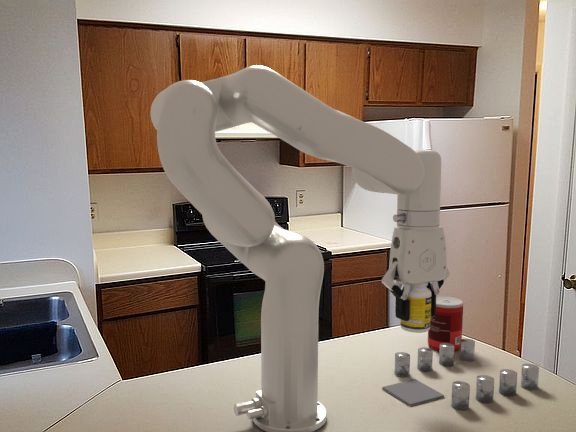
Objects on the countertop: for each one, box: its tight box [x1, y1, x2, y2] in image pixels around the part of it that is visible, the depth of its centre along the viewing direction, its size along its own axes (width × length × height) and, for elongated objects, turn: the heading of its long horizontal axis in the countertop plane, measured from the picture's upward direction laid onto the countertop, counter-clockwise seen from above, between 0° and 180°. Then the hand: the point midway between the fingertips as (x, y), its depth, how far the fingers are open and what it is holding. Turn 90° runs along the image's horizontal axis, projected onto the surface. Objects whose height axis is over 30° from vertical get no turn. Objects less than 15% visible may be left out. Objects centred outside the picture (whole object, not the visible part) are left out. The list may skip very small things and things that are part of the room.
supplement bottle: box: [399, 283, 431, 334], centre depth 99 cm, size 5×5×10 cm
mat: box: [381, 378, 445, 407], centre depth 101 cm, size 8×8×1 cm
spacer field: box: [394, 338, 540, 411], centre depth 106 cm, size 21×19×4 cm
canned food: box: [427, 295, 464, 353], centre depth 125 cm, size 8×8×11 cm
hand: (415, 315), depth 99 cm, fingers closed on supplement bottle, 5 cm apart
